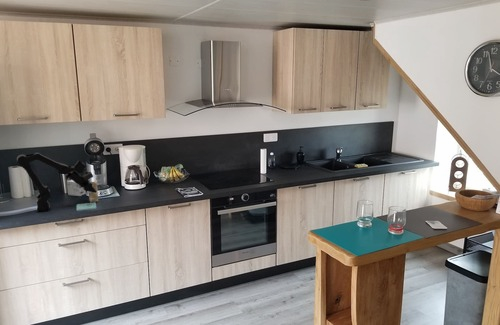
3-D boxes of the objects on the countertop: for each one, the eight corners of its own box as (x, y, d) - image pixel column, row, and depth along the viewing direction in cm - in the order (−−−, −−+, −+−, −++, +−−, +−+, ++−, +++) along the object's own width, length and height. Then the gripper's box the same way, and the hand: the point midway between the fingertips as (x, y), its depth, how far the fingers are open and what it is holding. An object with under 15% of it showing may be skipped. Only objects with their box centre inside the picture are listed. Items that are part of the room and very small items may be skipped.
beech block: (90, 202, 266) (89, 183, 263) (89, 200, 270) (87, 182, 267) (98, 200, 268) (96, 182, 266) (96, 199, 272) (95, 181, 270)
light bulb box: (86, 193, 288) (85, 179, 286) (80, 196, 282) (78, 182, 280) (74, 192, 291) (72, 178, 289) (67, 195, 285) (66, 181, 282)
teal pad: (76, 211, 251) (76, 209, 251) (76, 205, 261) (76, 204, 261) (96, 208, 255) (96, 207, 255) (95, 203, 266) (95, 202, 266)
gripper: (88, 171, 254) (106, 185, 263) (82, 166, 269) (99, 179, 278) (76, 184, 252) (95, 198, 260) (71, 178, 267) (89, 191, 275)
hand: (95, 191), depth 268 cm, fingers closed on beech block, 5 cm apart
